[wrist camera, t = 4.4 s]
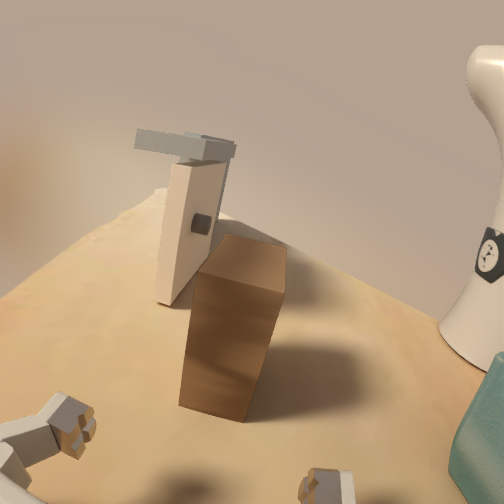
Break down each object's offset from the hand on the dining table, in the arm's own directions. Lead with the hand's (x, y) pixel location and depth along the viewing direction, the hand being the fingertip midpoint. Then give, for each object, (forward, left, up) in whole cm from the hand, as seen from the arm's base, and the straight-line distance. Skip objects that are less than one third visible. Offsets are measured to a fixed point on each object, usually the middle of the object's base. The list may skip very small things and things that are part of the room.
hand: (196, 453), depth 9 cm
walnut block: (0, -10, -5) cm, 11 cm away
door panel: (+7, -24, -5) cm, 25 cm away
